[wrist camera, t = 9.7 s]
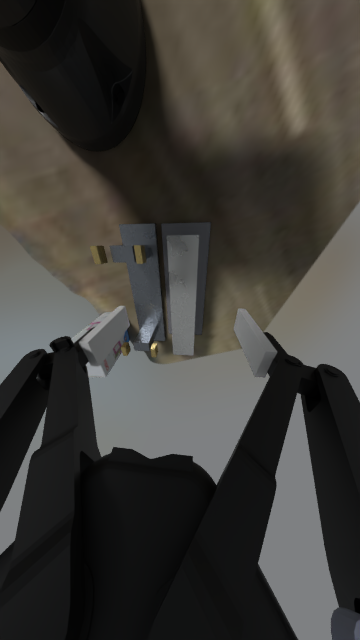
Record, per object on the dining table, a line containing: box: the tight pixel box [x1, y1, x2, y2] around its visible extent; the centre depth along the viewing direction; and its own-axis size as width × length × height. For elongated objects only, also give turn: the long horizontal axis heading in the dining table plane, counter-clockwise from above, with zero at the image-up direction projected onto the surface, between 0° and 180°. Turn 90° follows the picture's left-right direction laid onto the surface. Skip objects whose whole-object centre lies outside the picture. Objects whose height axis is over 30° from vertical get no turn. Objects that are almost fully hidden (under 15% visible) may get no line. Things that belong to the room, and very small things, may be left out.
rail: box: [167, 235, 199, 355], centre depth 24 cm, size 20×4×7 cm, turn 1°
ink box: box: [71, 312, 130, 377], centre depth 29 cm, size 8×5×12 cm, turn 1°
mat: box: [161, 222, 211, 335], centre depth 27 cm, size 22×8×1 cm, turn 1°
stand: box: [90, 223, 166, 357], centre depth 24 cm, size 24×6×10 cm, turn 1°
